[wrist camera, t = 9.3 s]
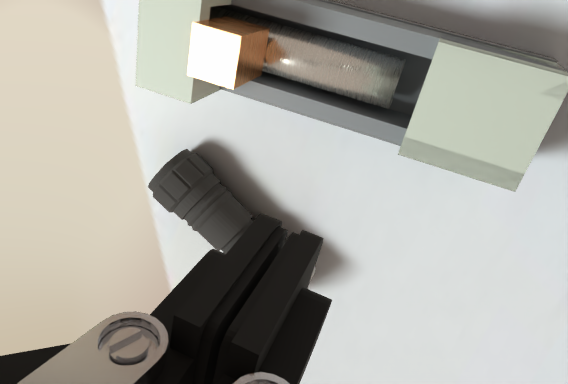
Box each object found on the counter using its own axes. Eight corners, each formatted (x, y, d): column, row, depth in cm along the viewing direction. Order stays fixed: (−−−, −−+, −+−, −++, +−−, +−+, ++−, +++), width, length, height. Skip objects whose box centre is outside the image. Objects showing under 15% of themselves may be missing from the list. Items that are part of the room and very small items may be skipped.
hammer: (407, 55, 29) (394, 78, 23) (392, 102, 31) (375, 135, 24) (214, 2, 32) (153, 9, 25) (209, 47, 33) (150, 65, 27)
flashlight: (166, 173, 42) (130, 198, 37) (196, 135, 39) (161, 156, 34) (284, 286, 43) (264, 324, 38) (322, 257, 40) (305, 293, 35)
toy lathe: (554, 58, 28) (588, 86, 21) (504, 158, 31) (519, 211, 24) (208, -32, 32) (140, -34, 25) (197, 64, 36) (135, 85, 29)
